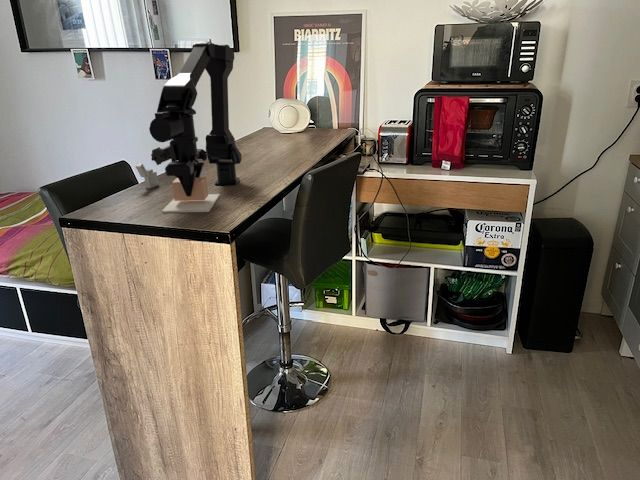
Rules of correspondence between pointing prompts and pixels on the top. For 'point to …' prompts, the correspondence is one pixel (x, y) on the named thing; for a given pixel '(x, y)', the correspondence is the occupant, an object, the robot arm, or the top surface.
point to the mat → (192, 205)
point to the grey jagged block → (148, 176)
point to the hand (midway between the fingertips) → (191, 193)
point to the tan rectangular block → (197, 193)
